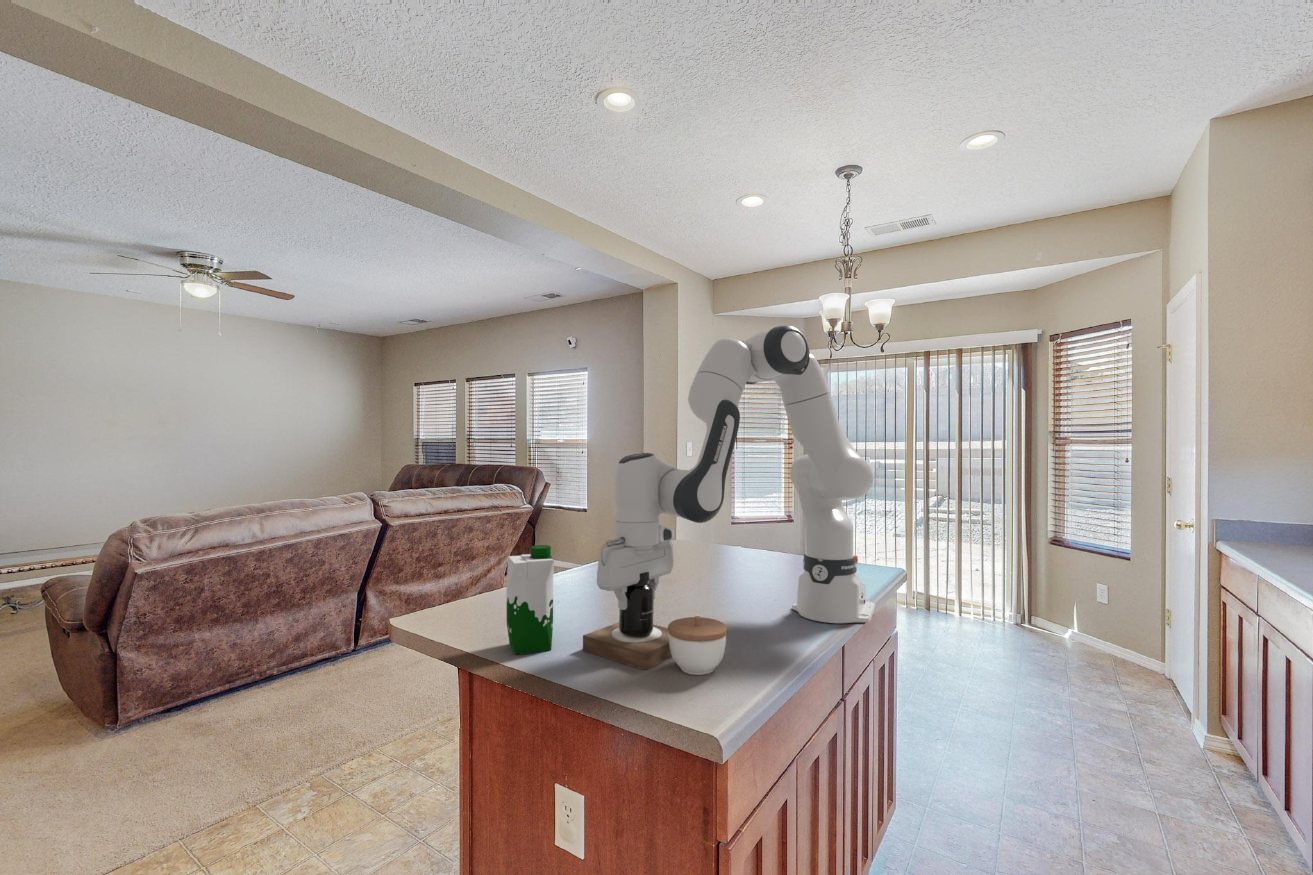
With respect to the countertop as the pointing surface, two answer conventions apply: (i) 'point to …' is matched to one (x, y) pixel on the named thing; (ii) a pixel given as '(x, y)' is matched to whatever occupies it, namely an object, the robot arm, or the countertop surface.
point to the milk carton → (530, 600)
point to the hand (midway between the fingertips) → (637, 604)
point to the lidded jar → (697, 644)
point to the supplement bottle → (638, 609)
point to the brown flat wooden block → (629, 646)
